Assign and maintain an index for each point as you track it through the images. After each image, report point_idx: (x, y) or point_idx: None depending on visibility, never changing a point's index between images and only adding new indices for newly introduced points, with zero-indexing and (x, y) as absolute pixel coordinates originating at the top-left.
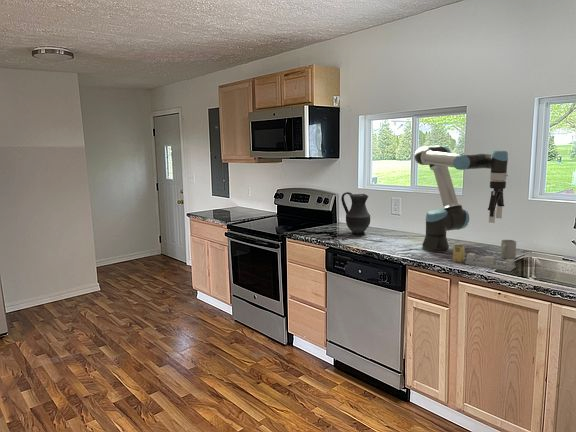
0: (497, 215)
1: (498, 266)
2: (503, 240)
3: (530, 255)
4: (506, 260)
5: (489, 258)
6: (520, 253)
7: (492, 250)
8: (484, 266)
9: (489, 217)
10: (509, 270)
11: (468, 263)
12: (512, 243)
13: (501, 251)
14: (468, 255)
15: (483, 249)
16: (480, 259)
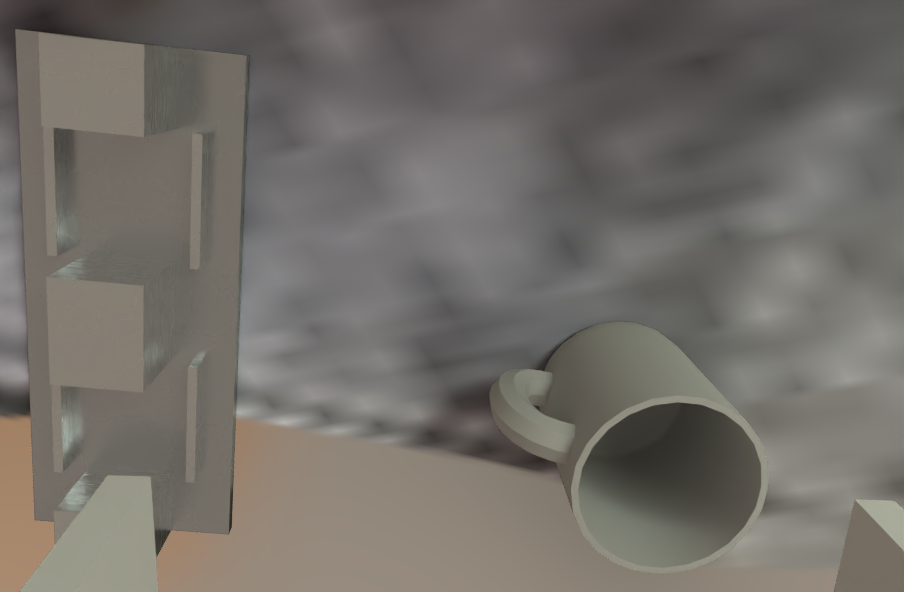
0: (895, 585)
1: (57, 410)
2: (719, 409)
3: (784, 562)
4: (56, 516)
5: (54, 332)
6: (834, 470)
7: (866, 177)
8: (26, 268)
9: (37, 581)
10: (35, 510)
11: (17, 77)
12: (589, 537)
13: (586, 355)
14: (45, 54)
15: (880, 62)
16: (193, 185)
